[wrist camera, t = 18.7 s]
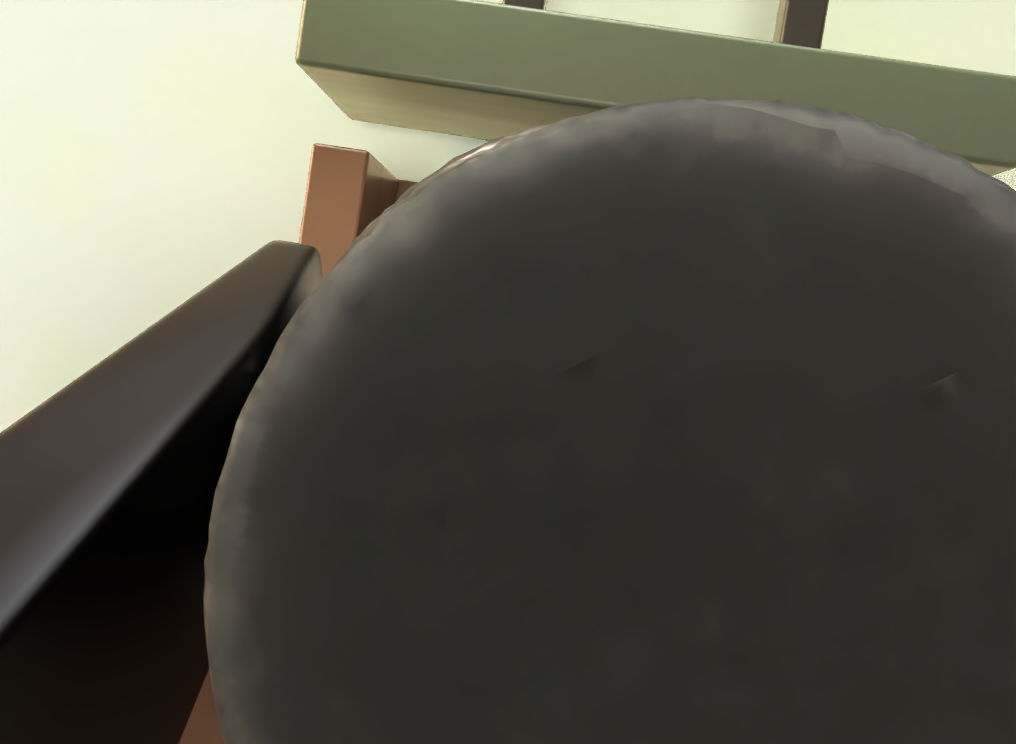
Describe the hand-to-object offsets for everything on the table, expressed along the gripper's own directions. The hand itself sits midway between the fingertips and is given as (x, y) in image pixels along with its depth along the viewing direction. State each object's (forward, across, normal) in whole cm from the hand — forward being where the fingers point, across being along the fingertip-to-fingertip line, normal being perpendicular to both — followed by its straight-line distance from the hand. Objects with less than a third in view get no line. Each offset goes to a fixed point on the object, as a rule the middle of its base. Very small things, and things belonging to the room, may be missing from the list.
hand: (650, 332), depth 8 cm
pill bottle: (+4, 0, +6) cm, 7 cm away
